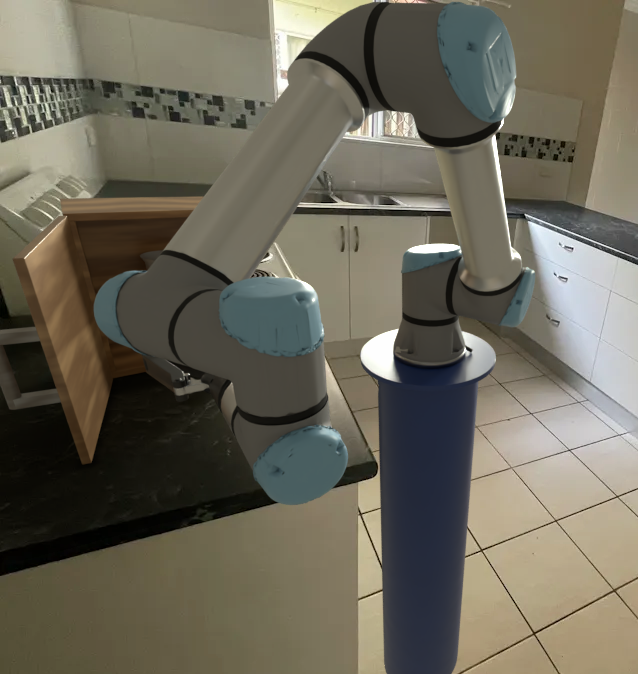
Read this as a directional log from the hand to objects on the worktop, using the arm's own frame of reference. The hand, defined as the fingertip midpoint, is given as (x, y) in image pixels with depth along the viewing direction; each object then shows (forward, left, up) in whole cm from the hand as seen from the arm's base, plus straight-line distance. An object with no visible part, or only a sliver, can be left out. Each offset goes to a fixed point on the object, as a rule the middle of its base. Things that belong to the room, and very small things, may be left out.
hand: (210, 326), depth 66 cm
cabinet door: (+21, -5, -17) cm, 27 cm away
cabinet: (+14, -29, -17) cm, 37 cm away
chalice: (+14, -29, -16) cm, 36 cm away
